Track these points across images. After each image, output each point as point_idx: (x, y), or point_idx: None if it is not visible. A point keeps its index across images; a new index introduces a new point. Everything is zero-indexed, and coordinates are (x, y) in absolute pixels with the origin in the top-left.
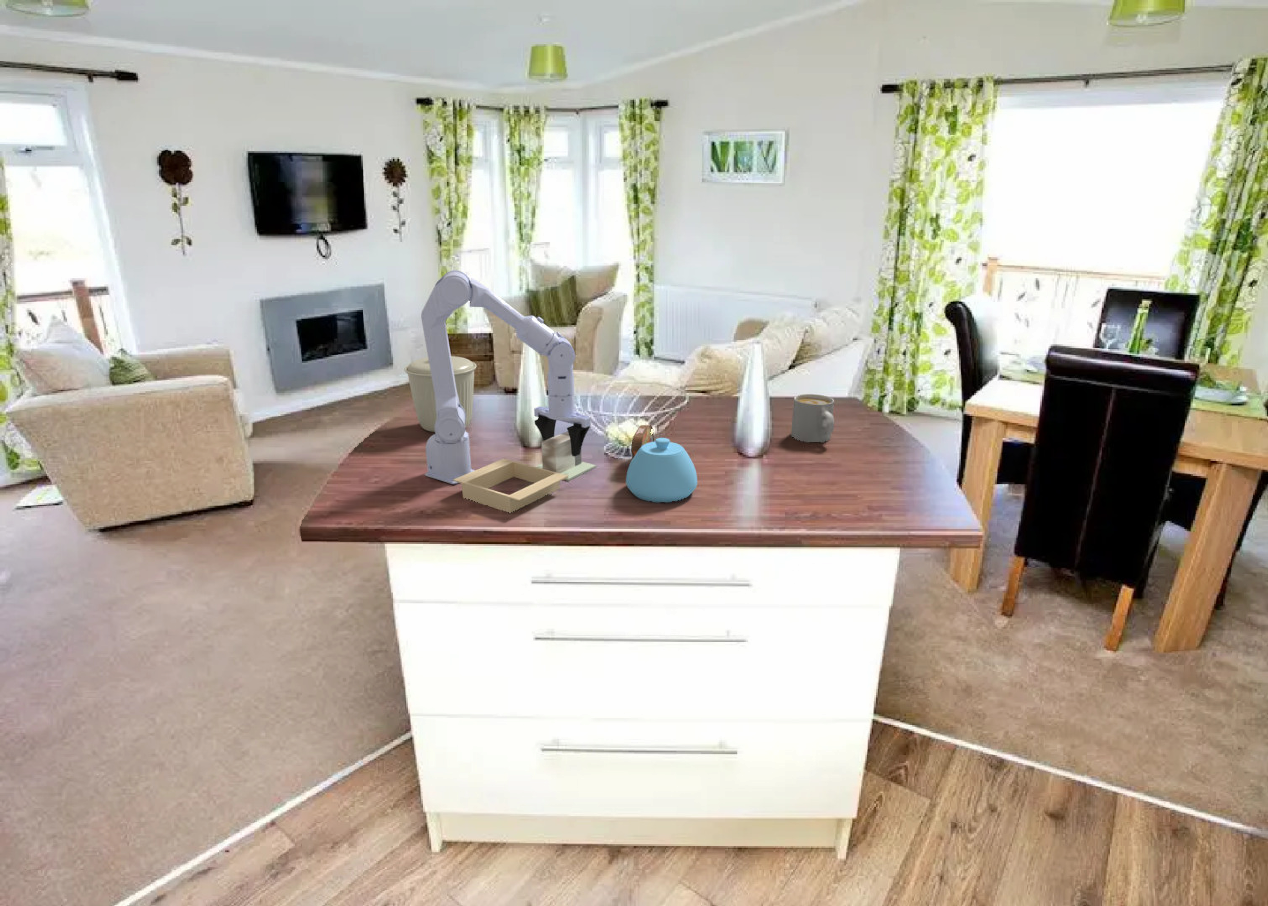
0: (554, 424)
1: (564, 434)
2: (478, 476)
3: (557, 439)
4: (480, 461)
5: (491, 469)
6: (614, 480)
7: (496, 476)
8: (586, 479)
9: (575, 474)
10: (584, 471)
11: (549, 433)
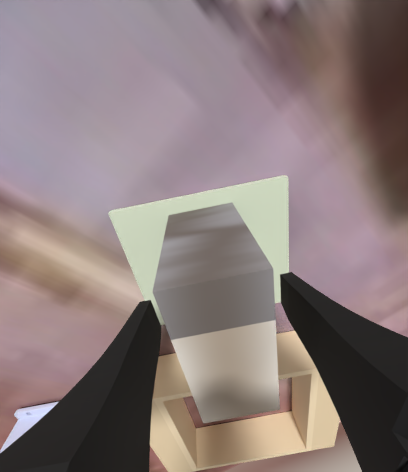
0: (110, 409)
1: (193, 330)
2: (189, 455)
3: (230, 381)
4: (16, 366)
5: (172, 436)
6: (398, 209)
7: (178, 409)
8: (319, 260)
9: (284, 273)
10: (287, 238)
11: (139, 383)
